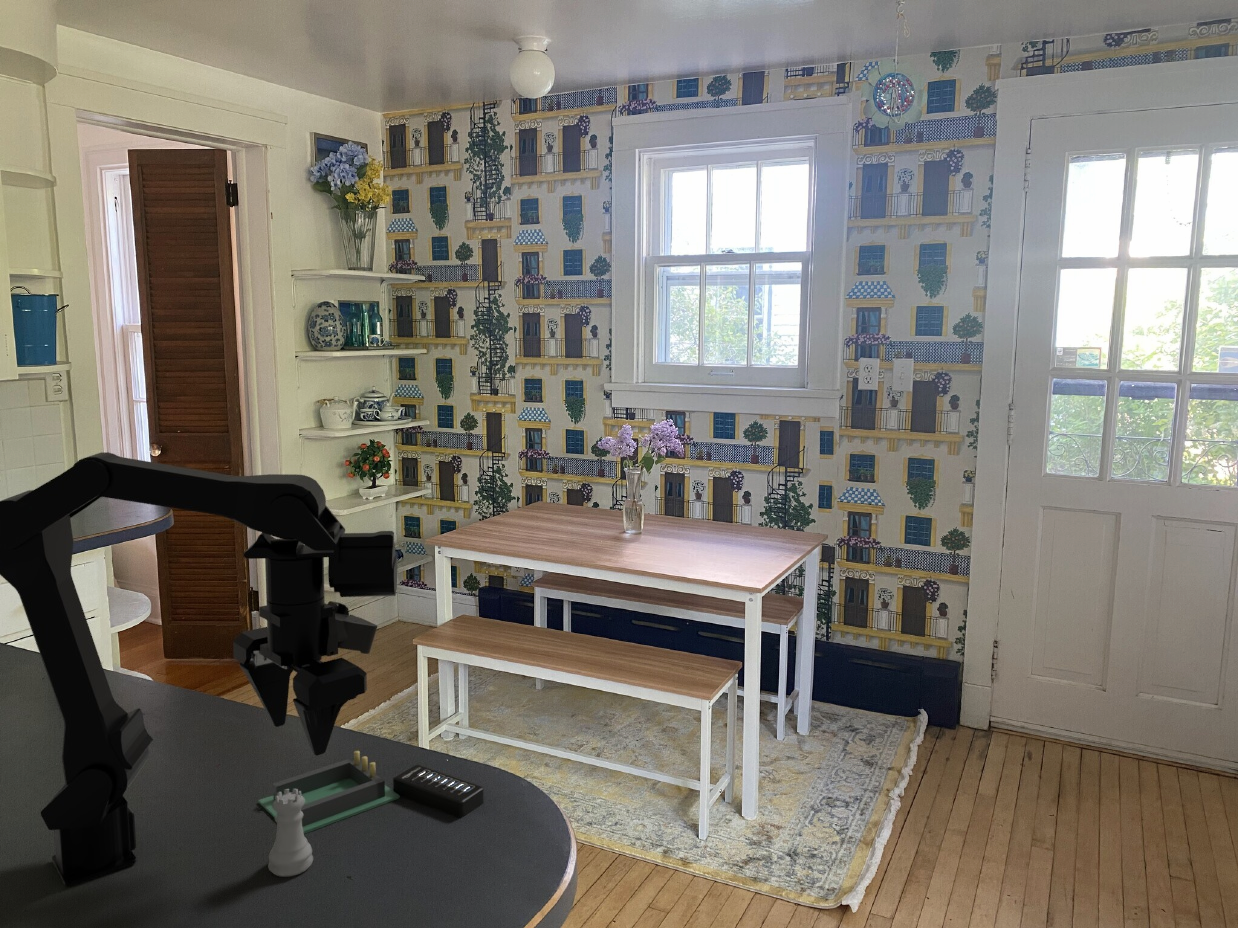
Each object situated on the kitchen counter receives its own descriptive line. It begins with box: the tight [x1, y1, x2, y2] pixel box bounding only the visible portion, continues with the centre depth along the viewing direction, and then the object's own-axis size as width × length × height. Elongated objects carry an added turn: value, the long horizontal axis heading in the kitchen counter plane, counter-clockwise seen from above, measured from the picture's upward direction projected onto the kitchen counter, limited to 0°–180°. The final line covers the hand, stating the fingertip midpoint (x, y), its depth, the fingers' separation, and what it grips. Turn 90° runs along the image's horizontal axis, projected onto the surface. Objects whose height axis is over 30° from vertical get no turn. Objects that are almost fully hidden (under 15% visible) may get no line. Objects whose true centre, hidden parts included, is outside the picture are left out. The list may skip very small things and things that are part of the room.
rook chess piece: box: [267, 789, 314, 878], centre depth 94 cm, size 4×4×8 cm
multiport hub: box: [392, 764, 485, 819], centre depth 109 cm, size 4×11×2 cm, turn 59°
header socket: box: [257, 750, 401, 835], centre depth 107 cm, size 13×10×4 cm
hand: (298, 739), depth 96 cm, fingers open, 9 cm apart
